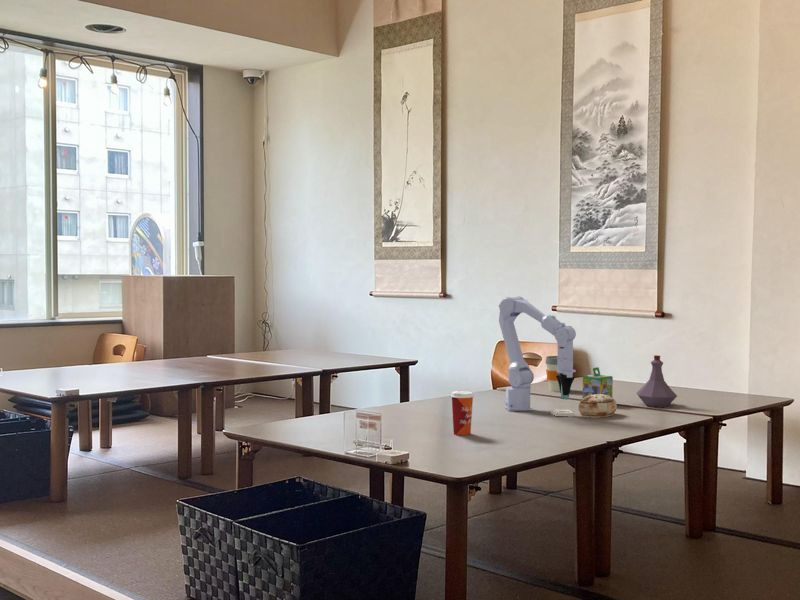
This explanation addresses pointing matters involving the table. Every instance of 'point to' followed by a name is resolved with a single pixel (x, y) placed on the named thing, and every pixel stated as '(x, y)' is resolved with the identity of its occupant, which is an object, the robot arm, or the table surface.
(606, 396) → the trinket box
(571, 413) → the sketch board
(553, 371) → the reusable coffee cup
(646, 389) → the flask
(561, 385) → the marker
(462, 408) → the paper cup
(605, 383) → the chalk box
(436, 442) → the table surface
